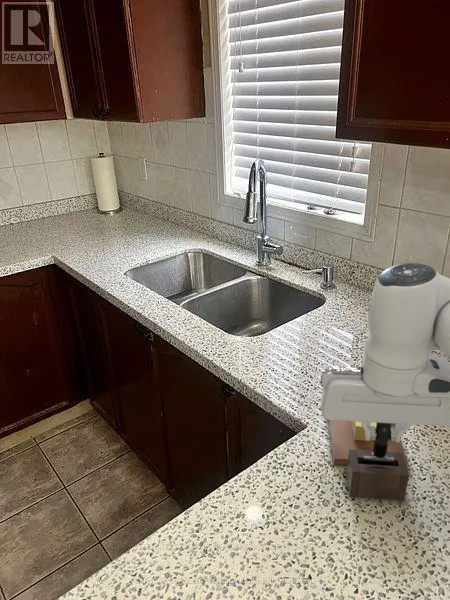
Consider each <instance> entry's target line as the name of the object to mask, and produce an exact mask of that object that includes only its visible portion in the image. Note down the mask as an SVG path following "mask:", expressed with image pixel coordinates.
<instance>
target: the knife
mask: <svg viewBox="0 0 450 600" xmlns="http://www.w3.org/2000/svg"><path fill="white" fill-rule="evenodd" d="M390 430H391V423H377V425H376V433H377V435H376V441H374V445H373V452H371V456H363V461H362V464H369V465H384V466H393V464H394V458H393V457H387V455H386V454H387V448H388V442H389V436H390Z"/></svg>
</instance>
